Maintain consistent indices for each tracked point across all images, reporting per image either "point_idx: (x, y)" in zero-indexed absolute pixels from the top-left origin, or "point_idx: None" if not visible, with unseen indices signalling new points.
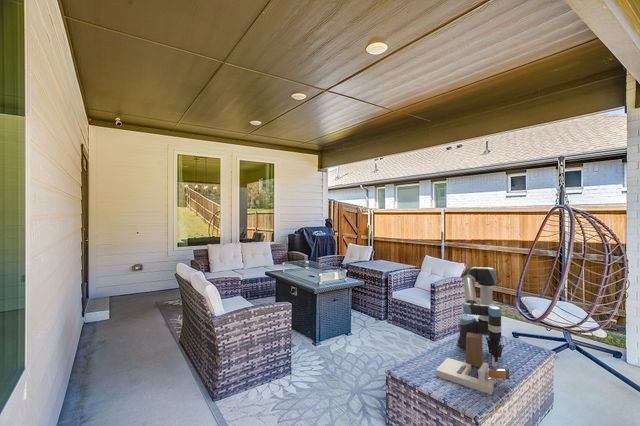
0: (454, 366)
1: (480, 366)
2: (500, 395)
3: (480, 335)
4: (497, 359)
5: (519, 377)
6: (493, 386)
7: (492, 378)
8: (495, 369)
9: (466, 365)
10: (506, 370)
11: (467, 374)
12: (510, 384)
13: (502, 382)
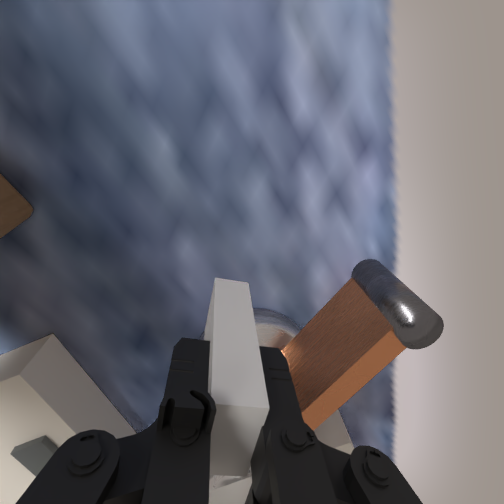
0: (13, 501)
1: (21, 221)
2: (387, 406)
3: None
4: (290, 396)
5: (367, 3)
6: (345, 429)
7: None
8: (316, 413)
9: (23, 419)
10: (422, 347)
11: (115, 422)
12: (369, 236)
13: (314, 267)
